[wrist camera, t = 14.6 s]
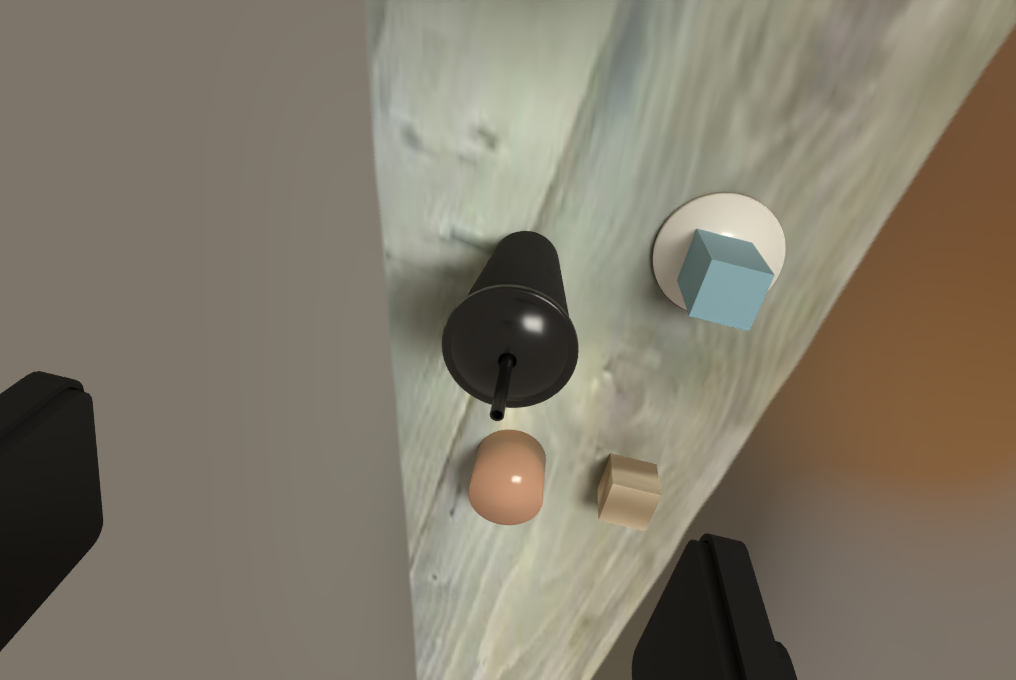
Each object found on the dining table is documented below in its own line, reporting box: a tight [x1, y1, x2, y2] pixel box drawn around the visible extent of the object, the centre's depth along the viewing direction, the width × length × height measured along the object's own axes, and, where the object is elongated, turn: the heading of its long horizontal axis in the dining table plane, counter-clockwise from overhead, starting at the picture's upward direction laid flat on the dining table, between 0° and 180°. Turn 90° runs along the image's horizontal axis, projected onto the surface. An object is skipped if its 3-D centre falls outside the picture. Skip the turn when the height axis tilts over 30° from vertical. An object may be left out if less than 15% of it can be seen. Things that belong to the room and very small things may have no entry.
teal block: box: [677, 229, 775, 331], centre depth 44 cm, size 4×4×6 cm
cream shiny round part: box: [653, 192, 785, 310], centre depth 47 cm, size 9×9×1 cm
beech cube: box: [597, 454, 661, 531], centre depth 56 cm, size 4×4×4 cm
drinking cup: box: [442, 231, 578, 421], centre depth 40 cm, size 8×8×20 cm
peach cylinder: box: [469, 430, 546, 525], centre depth 55 cm, size 6×6×5 cm
